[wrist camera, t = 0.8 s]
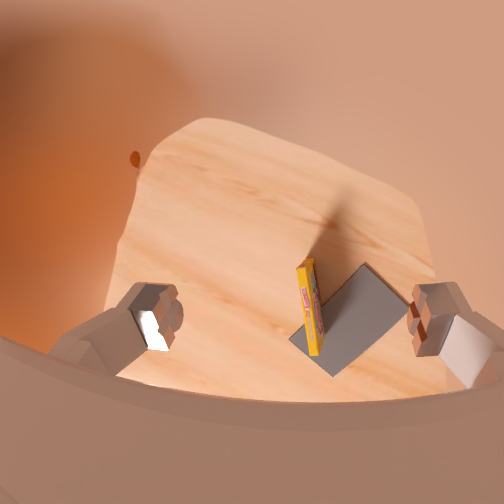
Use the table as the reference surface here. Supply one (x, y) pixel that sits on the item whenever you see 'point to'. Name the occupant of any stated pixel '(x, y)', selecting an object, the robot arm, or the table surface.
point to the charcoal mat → (353, 320)
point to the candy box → (311, 305)
